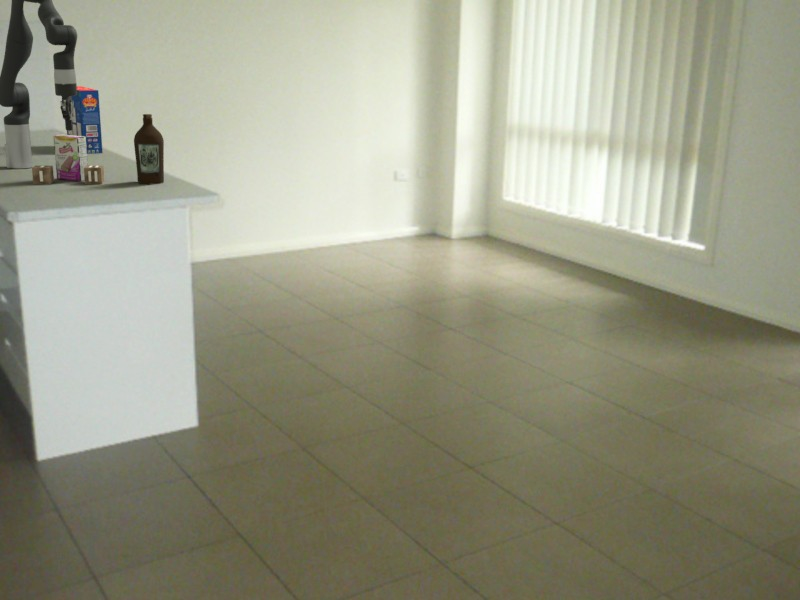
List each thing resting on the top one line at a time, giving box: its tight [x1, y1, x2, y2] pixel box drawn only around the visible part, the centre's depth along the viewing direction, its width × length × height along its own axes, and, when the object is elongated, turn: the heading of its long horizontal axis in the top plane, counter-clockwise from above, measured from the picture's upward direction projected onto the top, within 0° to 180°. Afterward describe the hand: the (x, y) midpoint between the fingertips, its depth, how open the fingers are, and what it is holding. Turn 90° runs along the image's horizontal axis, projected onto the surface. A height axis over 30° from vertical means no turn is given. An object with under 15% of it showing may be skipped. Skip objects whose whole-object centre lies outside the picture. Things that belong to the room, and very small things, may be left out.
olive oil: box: [133, 113, 165, 185], centre depth 338 cm, size 11×11×25 cm
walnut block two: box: [84, 165, 105, 185], centre depth 337 cm, size 6×6×6 cm
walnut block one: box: [31, 165, 55, 185], centre depth 334 cm, size 6×6×6 cm
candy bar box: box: [53, 134, 89, 182], centre depth 340 cm, size 11×5×16 cm, turn 71°
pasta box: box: [66, 86, 104, 155], centre depth 421 cm, size 28×8×28 cm, turn 34°
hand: (69, 130), depth 338 cm, fingers closed
